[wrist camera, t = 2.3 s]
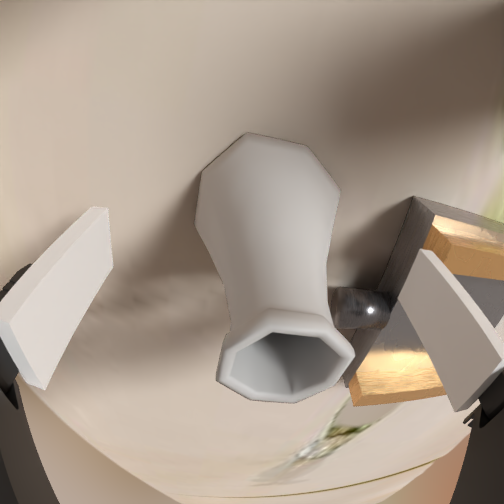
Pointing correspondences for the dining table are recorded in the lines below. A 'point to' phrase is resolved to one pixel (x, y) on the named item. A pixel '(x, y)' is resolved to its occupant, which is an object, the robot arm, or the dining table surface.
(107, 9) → the dining table surface
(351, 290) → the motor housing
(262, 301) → the flask
